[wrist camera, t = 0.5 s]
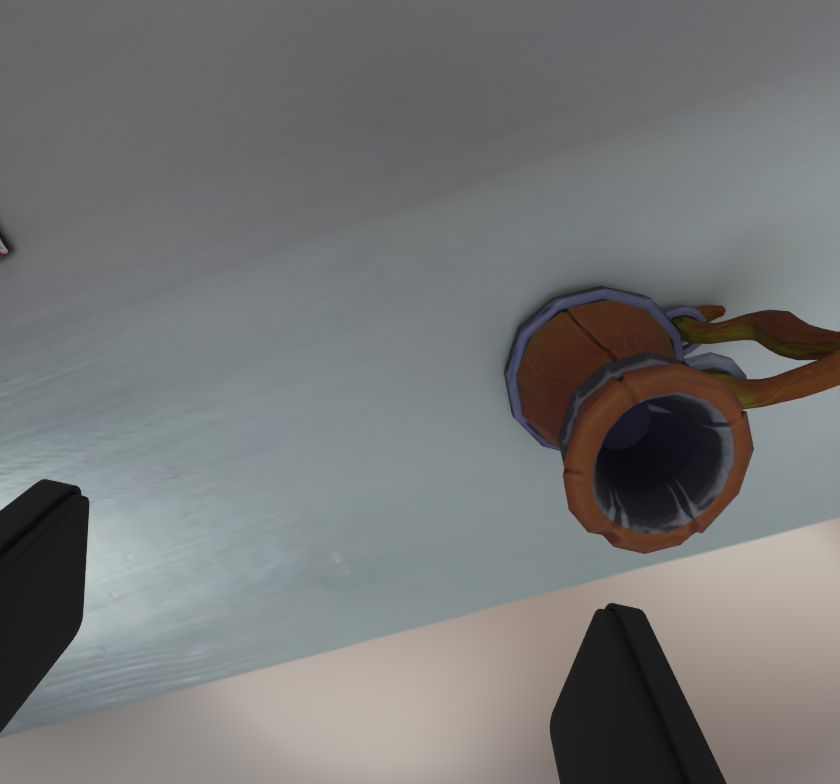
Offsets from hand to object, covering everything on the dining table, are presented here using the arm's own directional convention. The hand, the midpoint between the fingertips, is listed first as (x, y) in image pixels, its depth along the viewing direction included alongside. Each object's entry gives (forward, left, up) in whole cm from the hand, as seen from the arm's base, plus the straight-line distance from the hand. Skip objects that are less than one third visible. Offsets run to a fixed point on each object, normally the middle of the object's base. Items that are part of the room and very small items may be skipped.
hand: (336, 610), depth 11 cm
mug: (0, +15, -29) cm, 33 cm away
